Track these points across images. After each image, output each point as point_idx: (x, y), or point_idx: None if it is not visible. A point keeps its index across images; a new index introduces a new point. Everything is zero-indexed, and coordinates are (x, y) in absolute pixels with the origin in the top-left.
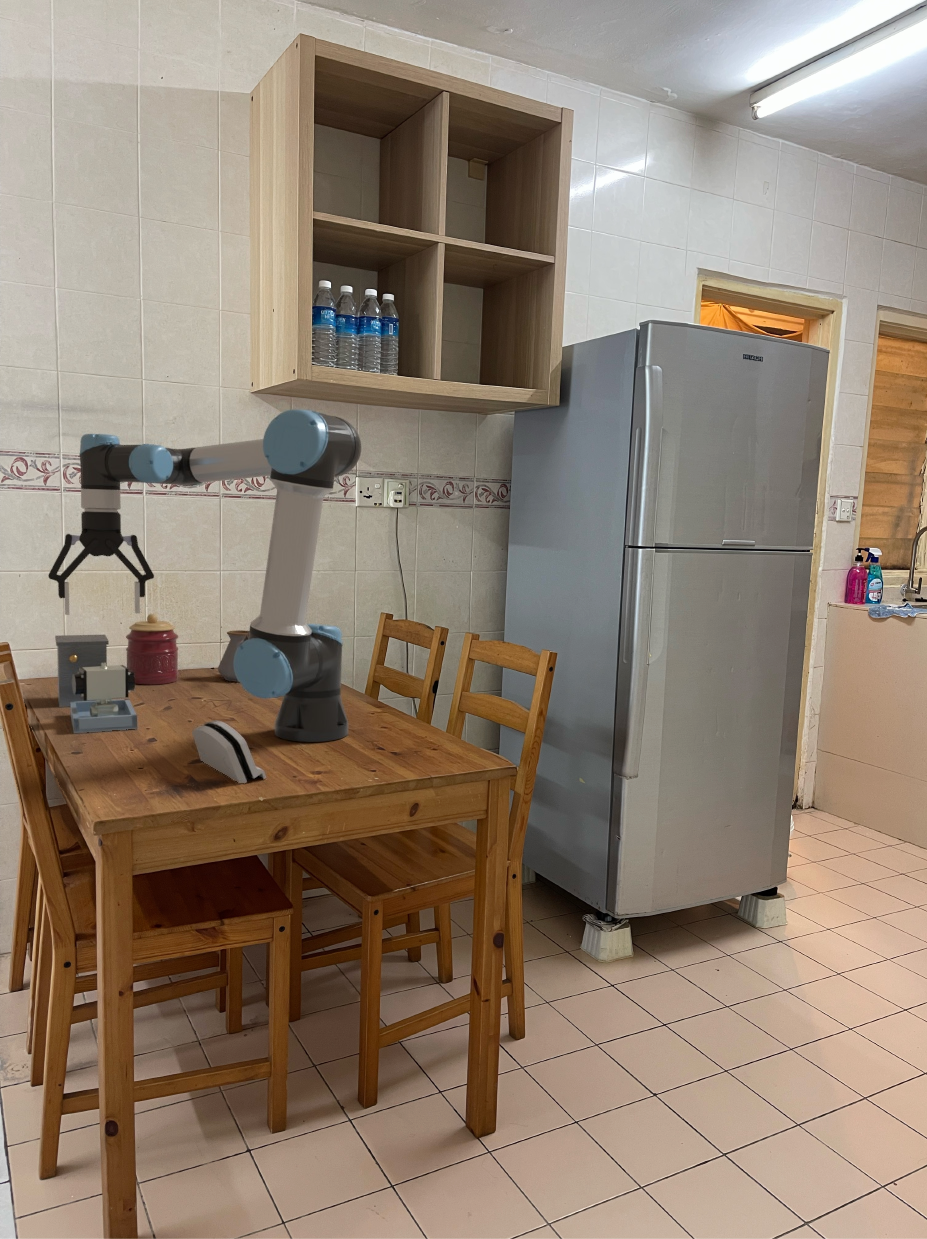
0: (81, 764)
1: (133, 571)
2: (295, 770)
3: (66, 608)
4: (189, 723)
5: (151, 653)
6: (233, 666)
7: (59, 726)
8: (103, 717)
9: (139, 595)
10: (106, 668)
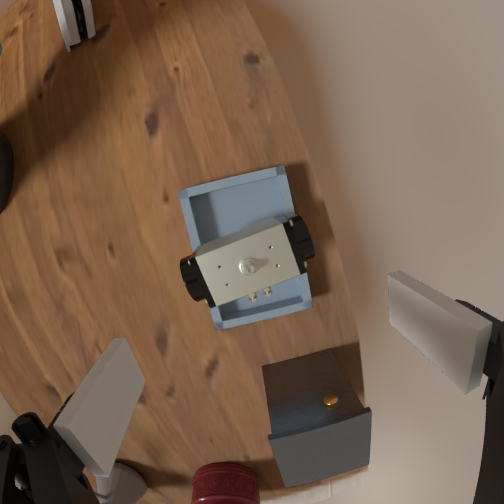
0: (235, 14)
1: (52, 481)
2: (25, 31)
3: (409, 279)
4: (109, 233)
5: (220, 494)
6: (118, 475)
7: (311, 220)
8: (234, 177)
9: (82, 381)
10: (240, 259)
